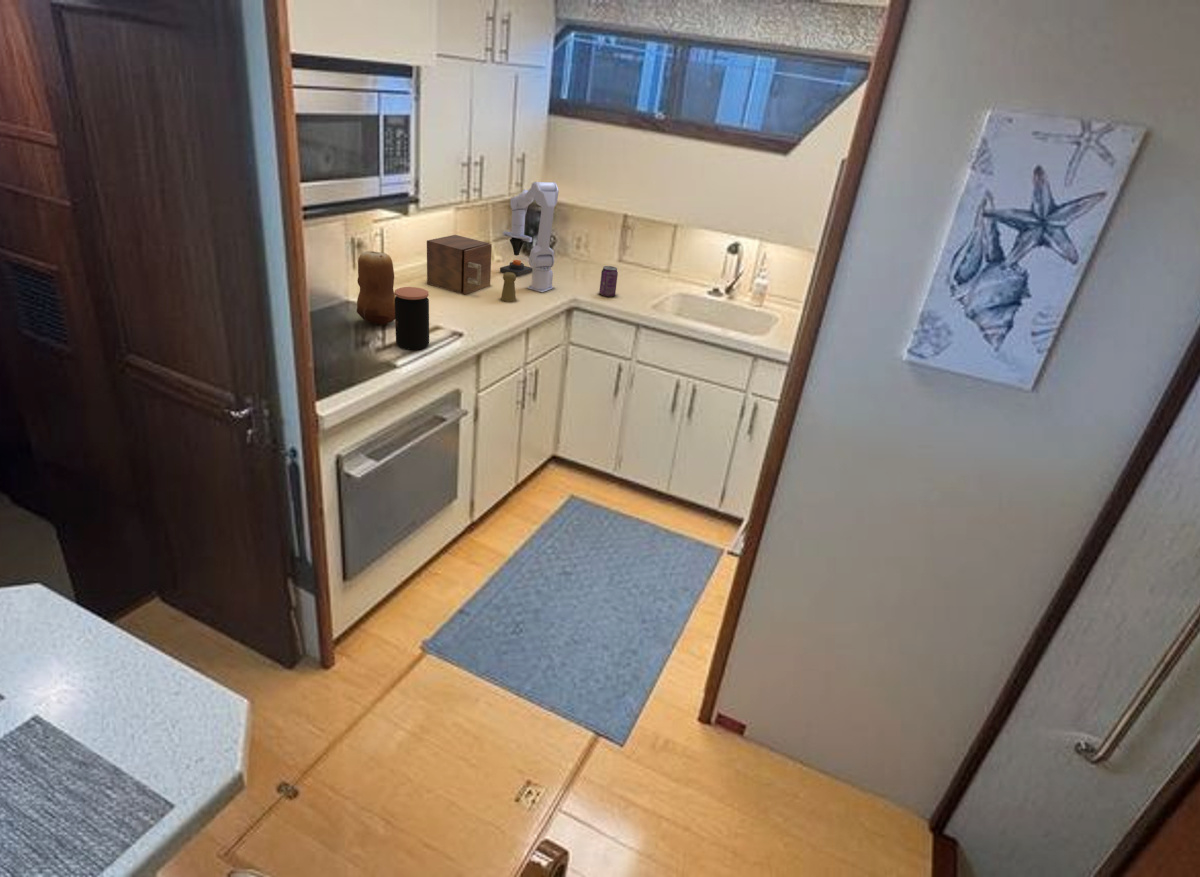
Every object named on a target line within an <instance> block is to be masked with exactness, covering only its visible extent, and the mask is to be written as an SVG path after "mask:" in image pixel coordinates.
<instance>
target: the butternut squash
mask: <svg viewBox="0 0 1200 877" xmlns="http://www.w3.org/2000/svg"><path fill="white" fill-rule="evenodd" d="M357 275H358V276H357V284H358V286H359V293H358V296H357V300H356V313H357V314H358V315H359V316H360V317H361V319H362V320H363V321H365V322H367V323H369V324H374V325H377V326H387V325H388V324H390V323H392V322H394V321H395V297H396V295H395V294H394V292H395V289H394V283H395V270H394V264H393V260H392V258H391V256H390V254H387V253H385V252H379V251H374V250H365V251H363V252H362V253H360V255H359V256H358V260H357Z"/></svg>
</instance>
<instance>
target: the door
mask: <svg viewBox="0 0 1200 877" xmlns="http://www.w3.org/2000/svg"><path fill="white" fill-rule="evenodd" d="M492 247H493V246H492V243H489V244H487V245H483V246H480V247H476V248H472V249H468V250H465V251H464V289H463V293H462V294H463V295H468V294H471V293H473V292H476V291H480V290H482V289H485V288H488V287H491V274H492Z"/></svg>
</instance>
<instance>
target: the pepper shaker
mask: <svg viewBox="0 0 1200 877" xmlns="http://www.w3.org/2000/svg"><path fill="white" fill-rule="evenodd" d="M502 279H503V285H502V291H501V297H500V300H501V301H503V302H506V303H514V302H516V301H517V296H516V285H515V282H516V280H517V277H516V275H515V274H514V273H511V272H506V273H503V275H502Z"/></svg>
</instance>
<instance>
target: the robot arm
mask: <svg viewBox="0 0 1200 877" xmlns="http://www.w3.org/2000/svg"><path fill="white" fill-rule="evenodd" d="M559 193H560V192H559V187H558V184H557V182H555V181H549V182H548V181H533V182H531V185H530V188H529V189H523V190H522V192H521V193H519V194H518V195H517V196H515V197H514V198H512V197H510V202H509V204H510V208H511V210H512V211H511V213H512V214H511V229H510V230H511V231H507V230H505V231H502V236H503V237H507V238H510V239H509V242H510V244H511V247H512V251H513V255H514V256H519V255H520V253H521V249H522V247H523V245H524V244H525V242H527V243H532V242H533V237H531V236H528V235H526V234H525V227H526V226H525V222H526V215H527V210H528V209H529V205H531V204H532V203H533V202H534V201H535V203H536V205H537V206H539V207H540V208H541V211H540V216H539V225H538V233H537V239H536V240H537V241H536V245H535V246H534V247H532V248H531V249H530V254H529V255H528V265H529V267H531V268H532V273H531V285H530V286H527V288H526V289H528V290H531V291H535V292H539V293H545V292H548V291H551V290H553V289H555V287H554V286H553V281H554V280H553V279H554V272H553V270H552V268H553V267H554V265H555V251H554V250H553V249H552V248H551V247H550V242H551V235H552V227H553V220H554V213H555V206H557V204H558V198H559Z"/></svg>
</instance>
